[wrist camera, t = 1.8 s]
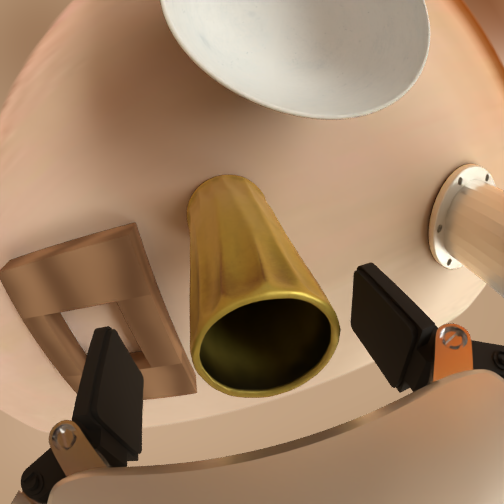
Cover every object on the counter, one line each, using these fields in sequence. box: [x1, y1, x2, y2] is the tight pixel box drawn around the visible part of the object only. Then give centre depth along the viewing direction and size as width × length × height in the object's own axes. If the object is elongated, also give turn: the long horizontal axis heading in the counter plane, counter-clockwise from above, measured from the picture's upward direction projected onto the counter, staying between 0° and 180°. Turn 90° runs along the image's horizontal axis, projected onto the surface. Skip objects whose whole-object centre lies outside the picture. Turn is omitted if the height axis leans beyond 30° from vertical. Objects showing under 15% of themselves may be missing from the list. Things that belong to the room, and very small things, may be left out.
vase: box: [187, 175, 340, 398], centre depth 16 cm, size 6×6×14 cm
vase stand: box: [0, 222, 197, 400], centre depth 23 cm, size 14×18×2 cm
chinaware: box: [160, 0, 430, 120], centre depth 12 cm, size 15×15×8 cm
